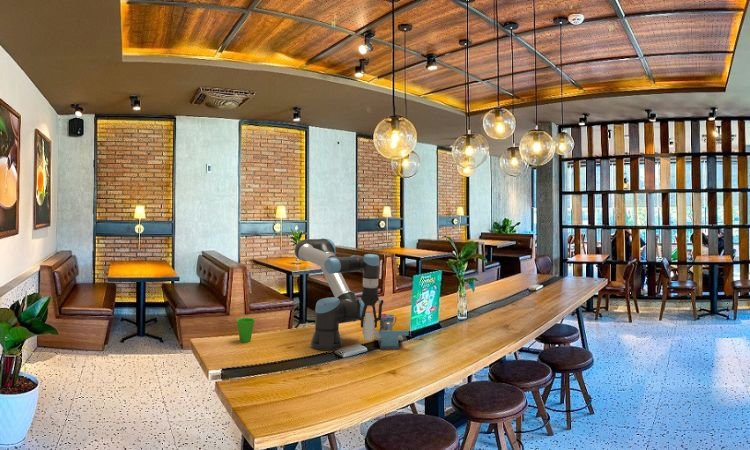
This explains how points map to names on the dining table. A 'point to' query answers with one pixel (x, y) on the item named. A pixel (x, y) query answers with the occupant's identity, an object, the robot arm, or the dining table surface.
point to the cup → (245, 329)
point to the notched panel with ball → (389, 337)
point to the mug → (386, 320)
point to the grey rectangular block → (368, 326)
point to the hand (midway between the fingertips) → (368, 334)
